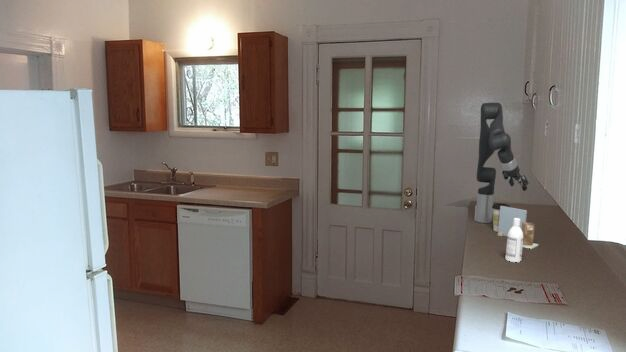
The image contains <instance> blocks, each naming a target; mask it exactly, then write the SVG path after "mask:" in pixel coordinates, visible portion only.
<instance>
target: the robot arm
mask: <svg viewBox="0 0 626 352" xmlns="http://www.w3.org/2000/svg"><path fill="white" fill-rule="evenodd" d="M503 113H504V112H503V106H502V104H501V103H500V102H483V103H482V104H481V106H480V130H479V131H480V132H479V140H478V141H479V143H478V161H477V169H476V180H477V182H479V183H488V184H487V185H486V186H483V187H479V188H478V189H477V197H476V200H477V201H476V205H475V206H474V219H473V220H474V221H475V222H477V223H482V224H491V223H493V208H492V206H493V204H494V198H495V197H494V195H495V184H496V178H497V170H496V168H495V167H489V166H485V163H486V162H487V161H488V160H489V159H490V158H491V156H492V155H494V153H495V151H497V153H496V154H497V157H498V159H499V162H500V165H501V167H502V172H501V174H502V176H503V179H504V180H505V181H507V182H508V183H509V185H510V187H514V186H515V182H516V183H517V184H519V186H521V189H522V191H524V192H525V191H527V189H528V185H529V183H530V182H529V181H528V179H527V177H526V175H524V174H523V175H521V174H520V167H519V165H518V162H517V159H516V158H515V156H514V153H513V150H512V140H511V136H510V134H508V132H507V133H506V130H505V128H504V118H503V115H504V114H503ZM487 120H492V122H491V123H490V125H488V122H487Z"/></svg>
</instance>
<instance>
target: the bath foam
mask: <svg viewBox="0 0 626 352" xmlns="http://www.w3.org/2000/svg"><path fill="white" fill-rule="evenodd" d="M505 247H506V248H505V257H504V258H505V260H506V261H508V262H509V261H510V263H515V262H517V263H521V262H522V257H523V248H524V247H523V232H522V230H521V228H520V219H519V218H514V220H513V226H512V228H511V229H510V230H509V232H508V235H507V236H506V246H505ZM520 261H521V262H520Z"/></svg>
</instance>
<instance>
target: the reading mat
mask: <svg viewBox="0 0 626 352" xmlns="http://www.w3.org/2000/svg"><path fill="white" fill-rule="evenodd" d="M538 246H539V243H534V242H533V246H531V245H523V248H526V249H529V248H530V250H532V249H535V248H536V247H538Z"/></svg>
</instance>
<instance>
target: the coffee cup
mask: <svg viewBox="0 0 626 352" xmlns="http://www.w3.org/2000/svg"><path fill="white" fill-rule="evenodd" d="M500 206H506V207H510V204H507V203H501V202H500V203H499V202H497V203H493V206H492V208H493V210H492V225H493V226H492V227H493V228H492V230H493V231H494V232H497V233H498V229H499V217H500Z"/></svg>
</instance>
